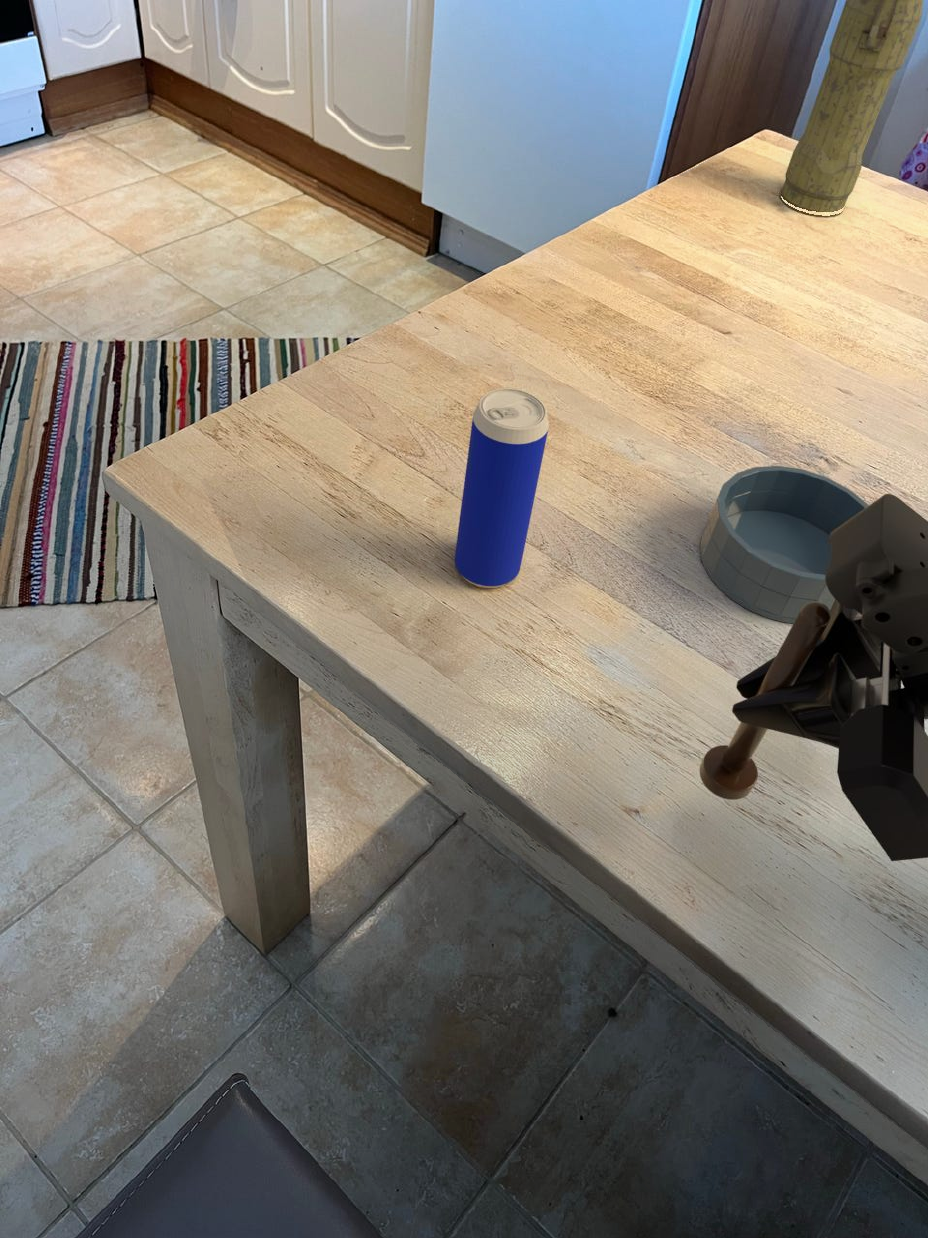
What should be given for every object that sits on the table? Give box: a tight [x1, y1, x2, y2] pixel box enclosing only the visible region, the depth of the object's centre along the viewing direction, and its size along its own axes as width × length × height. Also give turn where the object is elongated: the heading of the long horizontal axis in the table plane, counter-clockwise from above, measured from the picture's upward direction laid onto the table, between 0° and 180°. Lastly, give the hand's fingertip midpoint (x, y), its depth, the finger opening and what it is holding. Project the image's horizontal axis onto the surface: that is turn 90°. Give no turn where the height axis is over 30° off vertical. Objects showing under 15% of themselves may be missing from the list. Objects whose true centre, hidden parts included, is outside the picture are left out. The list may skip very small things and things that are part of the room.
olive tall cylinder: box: [779, 0, 924, 218], centre depth 115 cm, size 9×12×35 cm
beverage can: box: [453, 387, 550, 589], centre depth 68 cm, size 5×5×15 cm
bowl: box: [699, 465, 870, 625], centre depth 76 cm, size 13×13×5 cm
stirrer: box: [699, 601, 831, 801], centre depth 50 cm, size 3×3×15 cm
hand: (737, 701), depth 51 cm, fingers closed on stirrer
